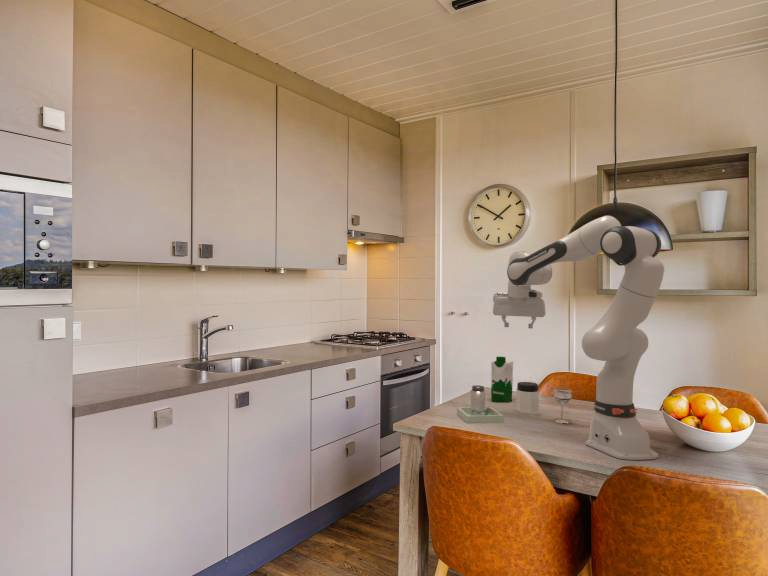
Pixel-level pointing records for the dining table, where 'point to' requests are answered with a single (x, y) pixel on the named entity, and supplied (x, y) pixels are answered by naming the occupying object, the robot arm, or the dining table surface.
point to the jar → (527, 398)
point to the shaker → (477, 401)
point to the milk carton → (501, 380)
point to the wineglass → (562, 400)
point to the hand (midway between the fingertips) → (518, 327)
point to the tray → (489, 418)
